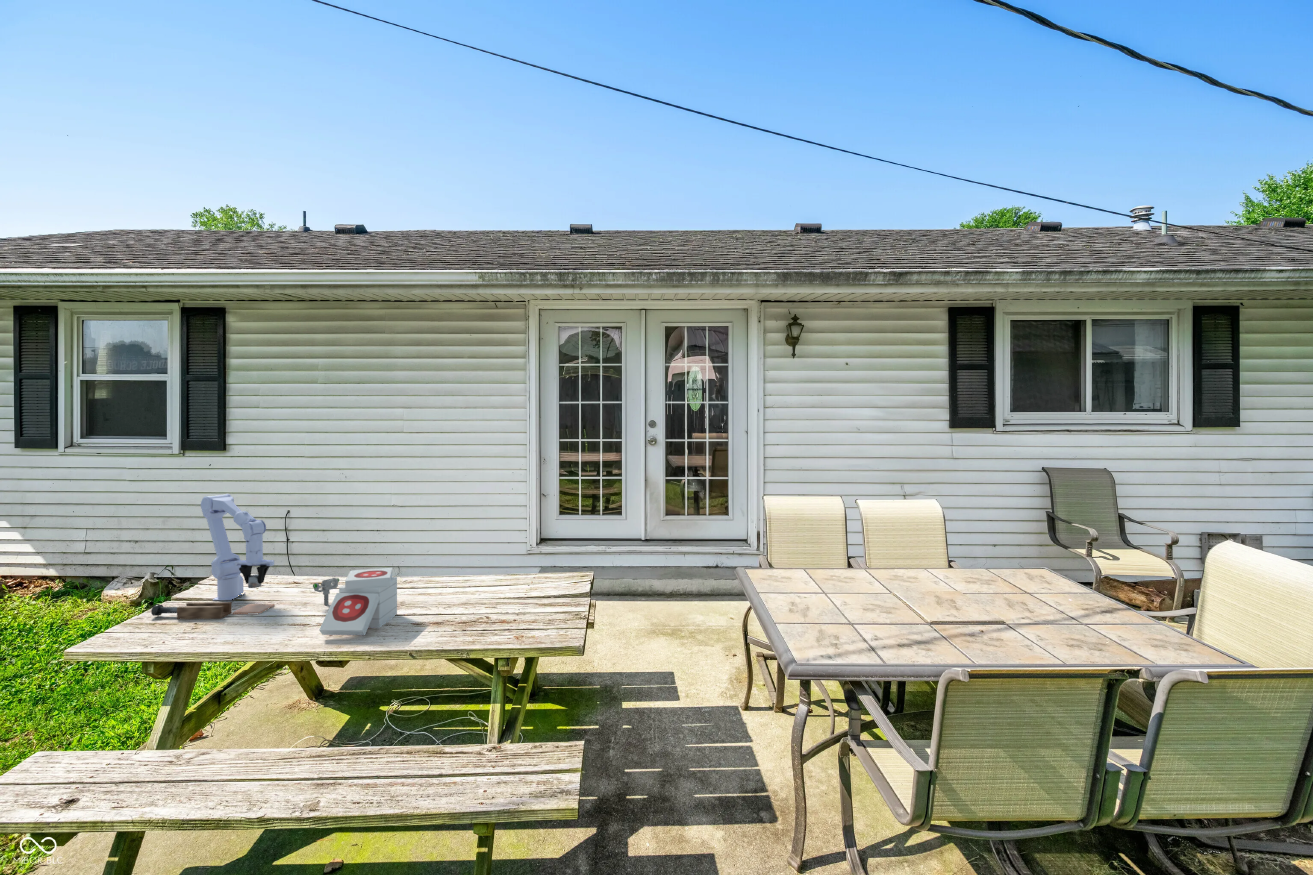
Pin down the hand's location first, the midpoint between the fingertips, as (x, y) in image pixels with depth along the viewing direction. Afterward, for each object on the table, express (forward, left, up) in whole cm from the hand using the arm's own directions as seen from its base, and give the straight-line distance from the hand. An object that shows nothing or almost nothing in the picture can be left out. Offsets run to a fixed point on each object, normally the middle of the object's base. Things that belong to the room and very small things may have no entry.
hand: (254, 582), depth 240 cm
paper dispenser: (+27, +55, -9) cm, 62 cm away
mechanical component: (+2, +30, -9) cm, 31 cm away
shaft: (+15, -17, -8) cm, 25 cm away
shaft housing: (+15, -9, -8) cm, 20 cm away
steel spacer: (0, 0, -1) cm, 1 cm away
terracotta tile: (+8, +5, -8) cm, 13 cm away
